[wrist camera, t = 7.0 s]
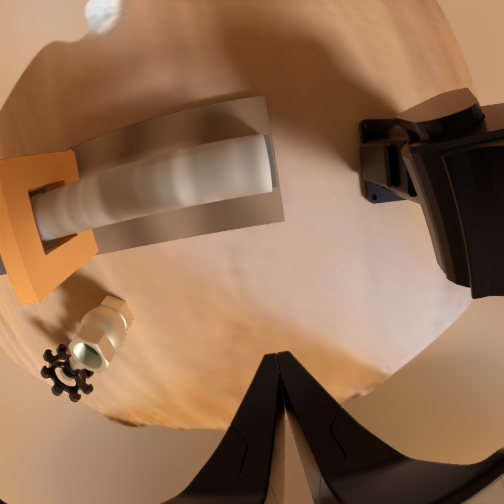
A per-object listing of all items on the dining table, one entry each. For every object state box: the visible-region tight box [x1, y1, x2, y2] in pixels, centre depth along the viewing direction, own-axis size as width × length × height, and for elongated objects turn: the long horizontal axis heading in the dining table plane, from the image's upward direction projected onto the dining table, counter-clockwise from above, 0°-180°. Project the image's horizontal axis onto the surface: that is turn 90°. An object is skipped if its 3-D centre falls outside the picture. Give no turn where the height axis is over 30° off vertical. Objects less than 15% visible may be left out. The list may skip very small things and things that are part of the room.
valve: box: [41, 295, 134, 402], centre depth 21 cm, size 7×7×12 cm
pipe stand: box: [0, 95, 285, 275], centre depth 16 cm, size 20×9×8 cm, turn 99°
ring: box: [0, 151, 99, 305], centre depth 14 cm, size 2×8×8 cm, turn 9°
